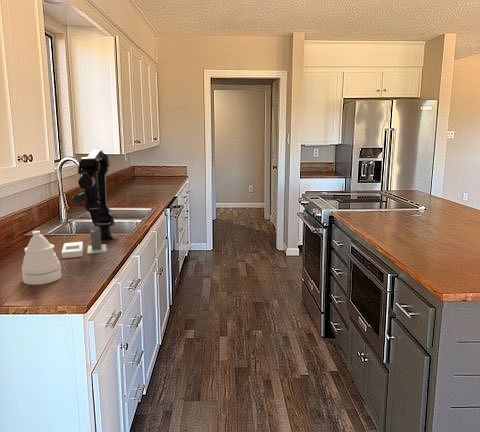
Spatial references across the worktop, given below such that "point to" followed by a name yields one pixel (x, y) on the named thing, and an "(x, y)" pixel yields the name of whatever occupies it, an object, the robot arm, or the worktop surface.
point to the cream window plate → (72, 250)
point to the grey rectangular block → (96, 239)
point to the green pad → (96, 249)
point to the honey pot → (40, 261)
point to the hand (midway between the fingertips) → (94, 221)
